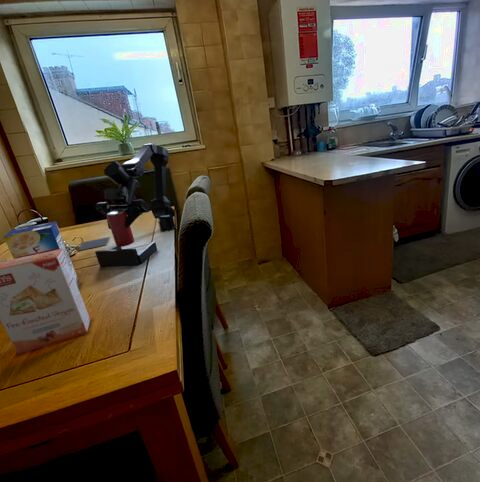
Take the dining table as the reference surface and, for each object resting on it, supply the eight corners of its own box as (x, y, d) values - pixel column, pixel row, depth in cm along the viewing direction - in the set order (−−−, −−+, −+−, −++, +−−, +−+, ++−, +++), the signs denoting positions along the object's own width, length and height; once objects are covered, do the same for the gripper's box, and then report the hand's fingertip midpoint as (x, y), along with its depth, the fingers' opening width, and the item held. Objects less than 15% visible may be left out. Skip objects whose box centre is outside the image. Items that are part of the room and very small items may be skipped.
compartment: (120, 253, 113) (115, 237, 111) (158, 251, 111) (153, 235, 108) (99, 269, 101) (93, 251, 99) (140, 267, 99) (135, 249, 96)
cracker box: (17, 356, 62) (-27, 275, 55) (27, 339, 67) (-12, 263, 60) (88, 334, 67) (56, 256, 60) (91, 320, 72) (62, 246, 65)
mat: (109, 237, 134) (108, 237, 134) (105, 245, 124) (105, 244, 124) (83, 242, 131) (83, 242, 131) (77, 251, 121) (77, 250, 121)
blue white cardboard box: (77, 293, 86) (51, 227, 78) (35, 305, 82) (2, 236, 74) (80, 283, 92) (56, 221, 84) (41, 294, 88) (11, 230, 80)
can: (132, 238, 108) (123, 208, 104) (136, 243, 103) (126, 211, 99) (115, 243, 105) (104, 212, 101) (117, 248, 100) (106, 215, 96)
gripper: (90, 181, 101) (78, 220, 95) (137, 177, 98) (128, 216, 92) (110, 197, 111) (100, 232, 105) (153, 193, 108) (146, 230, 102)
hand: (118, 228), depth 101 cm, fingers closed on can, 6 cm apart
